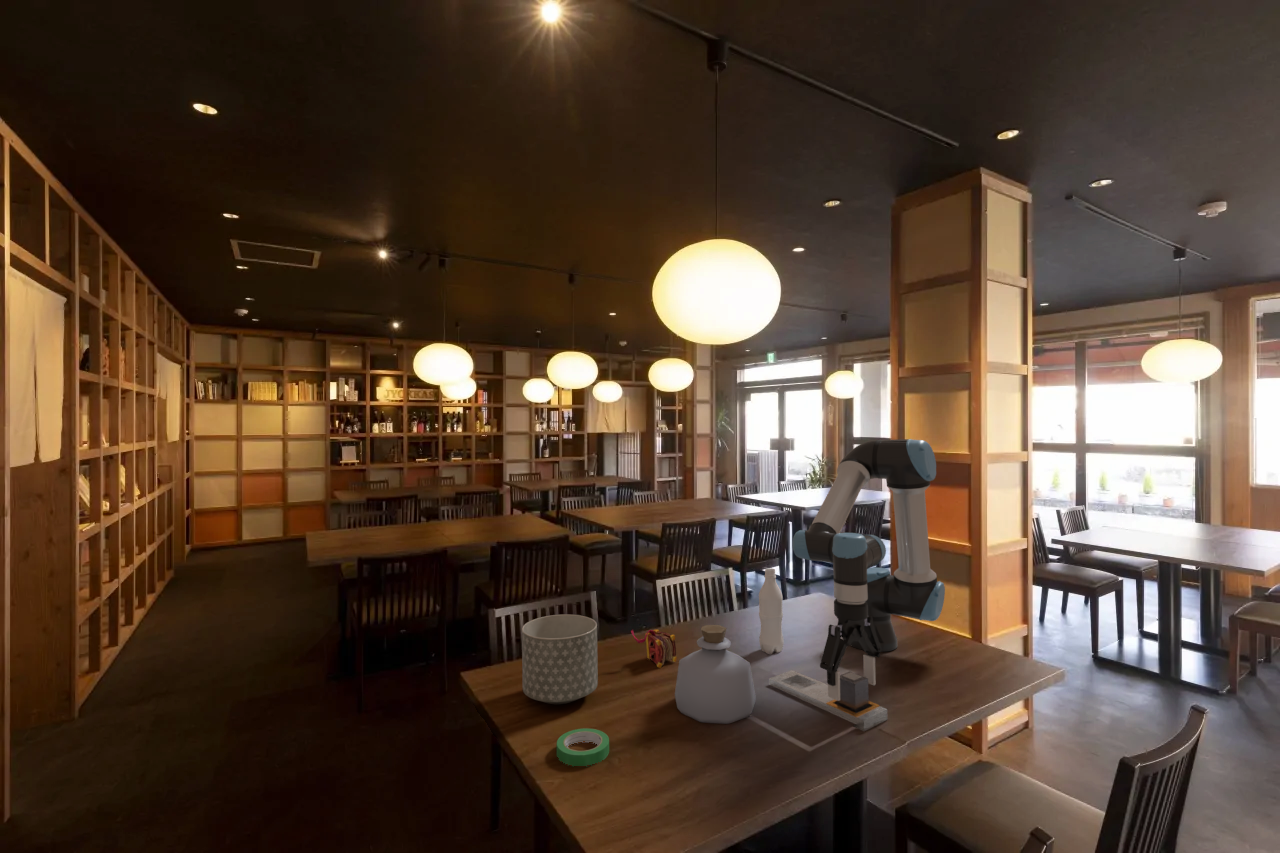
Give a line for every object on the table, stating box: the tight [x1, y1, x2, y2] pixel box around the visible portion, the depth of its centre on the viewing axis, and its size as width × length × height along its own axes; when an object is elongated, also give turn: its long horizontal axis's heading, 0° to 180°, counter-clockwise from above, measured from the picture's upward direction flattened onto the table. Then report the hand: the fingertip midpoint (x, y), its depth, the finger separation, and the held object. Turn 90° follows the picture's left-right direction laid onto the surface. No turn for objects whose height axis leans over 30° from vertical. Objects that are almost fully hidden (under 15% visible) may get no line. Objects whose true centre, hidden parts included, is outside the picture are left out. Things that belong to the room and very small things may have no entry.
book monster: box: [630, 629, 678, 669], centre depth 170 cm, size 11×9×12 cm
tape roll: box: [556, 727, 610, 767], centre depth 123 cm, size 11×11×3 cm
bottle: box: [674, 624, 757, 725], centre depth 143 cm, size 20×20×19 cm
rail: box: [768, 669, 888, 732], centre depth 143 cm, size 9×28×3 cm, turn 35°
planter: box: [521, 614, 599, 705], centre depth 149 cm, size 19×19×18 cm
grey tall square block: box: [837, 671, 870, 713], centre depth 137 cm, size 5×5×8 cm
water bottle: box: [758, 567, 785, 655], centre depth 178 cm, size 7×7×25 cm
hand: (852, 690), depth 137 cm, fingers open, 13 cm apart
